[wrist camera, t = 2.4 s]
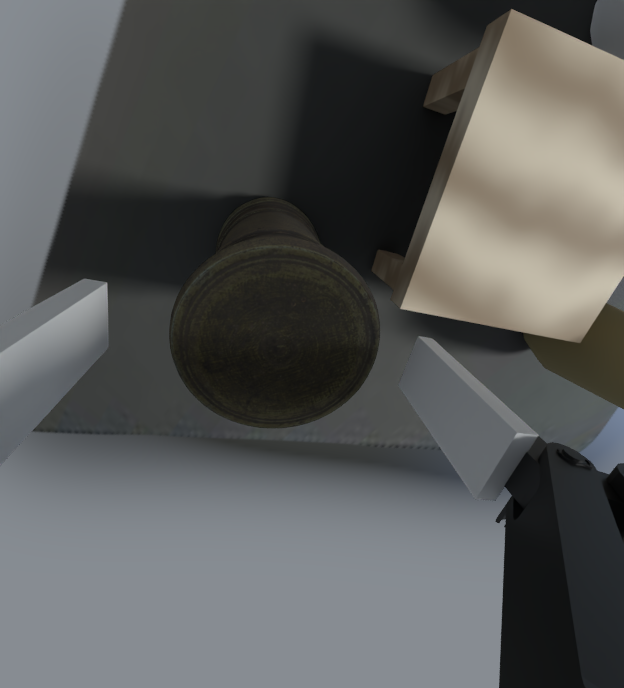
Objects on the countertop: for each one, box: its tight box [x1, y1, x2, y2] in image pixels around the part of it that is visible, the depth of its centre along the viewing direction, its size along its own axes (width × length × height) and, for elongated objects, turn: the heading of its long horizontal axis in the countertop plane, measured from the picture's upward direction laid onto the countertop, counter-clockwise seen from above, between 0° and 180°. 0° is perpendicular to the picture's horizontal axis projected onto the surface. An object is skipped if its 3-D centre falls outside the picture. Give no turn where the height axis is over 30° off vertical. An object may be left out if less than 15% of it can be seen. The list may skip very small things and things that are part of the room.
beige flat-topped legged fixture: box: [371, 9, 624, 343], centre depth 25 cm, size 16×16×9 cm
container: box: [169, 197, 380, 428], centre depth 21 cm, size 9×9×18 cm
